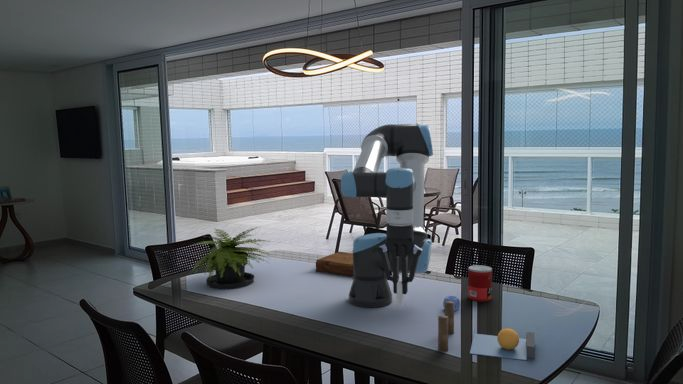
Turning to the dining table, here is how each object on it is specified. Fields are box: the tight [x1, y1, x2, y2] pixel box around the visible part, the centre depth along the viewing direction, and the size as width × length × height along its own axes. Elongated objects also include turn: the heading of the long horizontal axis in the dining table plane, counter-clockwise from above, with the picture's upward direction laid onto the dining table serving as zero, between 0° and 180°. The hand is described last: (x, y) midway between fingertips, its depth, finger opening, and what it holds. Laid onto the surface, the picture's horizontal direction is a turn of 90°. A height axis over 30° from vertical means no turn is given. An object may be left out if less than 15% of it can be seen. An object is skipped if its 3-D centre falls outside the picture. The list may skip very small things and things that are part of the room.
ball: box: [497, 328, 520, 350], centre depth 137 cm, size 6×6×6 cm
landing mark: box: [469, 333, 528, 361], centre depth 139 cm, size 14×14×1 cm
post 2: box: [444, 301, 455, 335], centre depth 149 cm, size 3×3×9 cm
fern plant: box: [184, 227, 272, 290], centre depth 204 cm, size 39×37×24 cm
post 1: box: [437, 314, 449, 353], centre depth 137 cm, size 3×3×9 cm
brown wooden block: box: [315, 251, 354, 278], centre depth 222 cm, size 23×19×6 cm
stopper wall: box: [525, 331, 536, 359], centre depth 136 cm, size 2×10×3 cm, turn 161°
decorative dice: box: [442, 295, 461, 312], centre depth 169 cm, size 4×4×4 cm
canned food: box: [467, 264, 493, 303], centre depth 180 cm, size 8×8×11 cm
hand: (400, 304), depth 148 cm, fingers closed
